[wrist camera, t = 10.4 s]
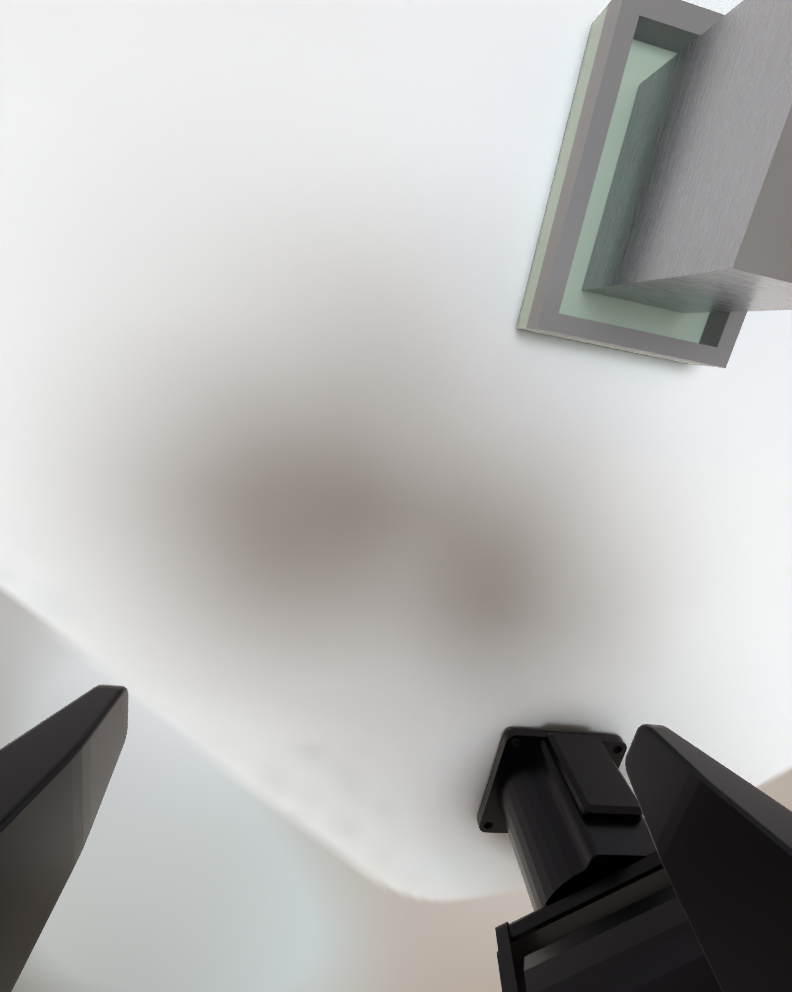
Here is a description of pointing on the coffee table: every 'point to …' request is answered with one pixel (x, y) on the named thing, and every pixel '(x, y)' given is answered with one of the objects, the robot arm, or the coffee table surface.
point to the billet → (707, 175)
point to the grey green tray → (586, 183)
